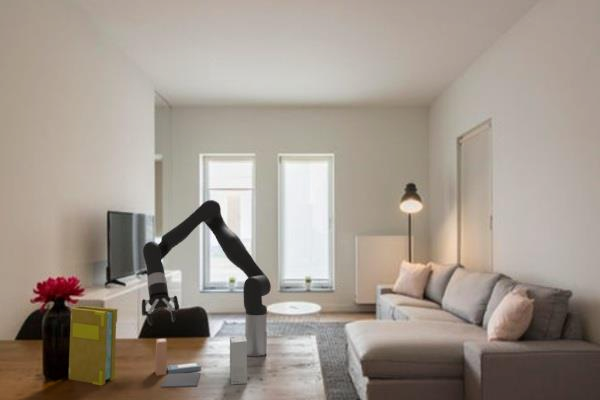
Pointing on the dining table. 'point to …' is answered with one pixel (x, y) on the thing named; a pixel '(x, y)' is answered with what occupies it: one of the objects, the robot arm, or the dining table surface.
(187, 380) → the mat
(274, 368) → the dining table surface
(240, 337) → the skincare box
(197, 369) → the blue panel box
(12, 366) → the dining table surface
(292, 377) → the dining table surface
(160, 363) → the tan rectangular block
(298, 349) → the dining table surface
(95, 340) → the book
